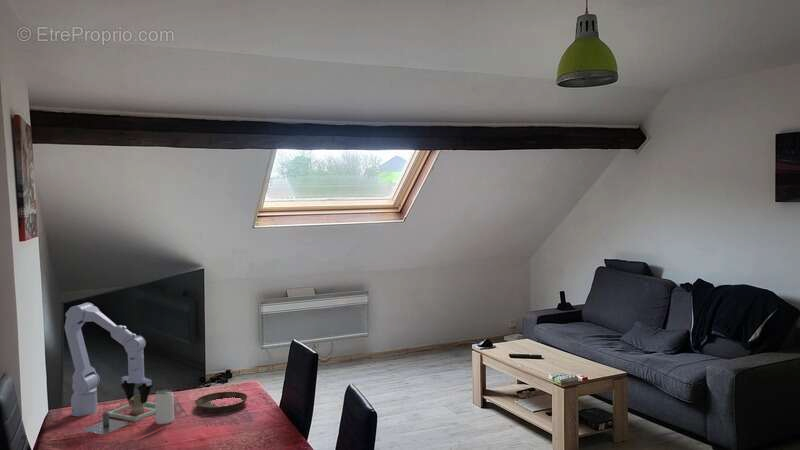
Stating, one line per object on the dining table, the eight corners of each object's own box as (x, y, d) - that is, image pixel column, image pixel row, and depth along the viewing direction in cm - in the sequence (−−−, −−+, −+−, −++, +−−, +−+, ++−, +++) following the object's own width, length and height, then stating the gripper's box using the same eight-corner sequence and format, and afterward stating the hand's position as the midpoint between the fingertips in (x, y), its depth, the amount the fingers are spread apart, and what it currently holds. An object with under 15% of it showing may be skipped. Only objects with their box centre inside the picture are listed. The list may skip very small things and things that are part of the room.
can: (167, 426, 222) (166, 394, 222) (152, 425, 224) (151, 393, 223) (177, 420, 229) (176, 389, 228) (162, 419, 230) (161, 388, 230)
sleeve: (126, 414, 234) (125, 399, 234) (138, 409, 240) (137, 395, 239) (134, 416, 233) (133, 400, 232) (146, 411, 238) (145, 396, 238)
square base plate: (80, 431, 219) (80, 415, 218) (109, 420, 229) (108, 404, 229) (103, 436, 213) (102, 419, 213) (131, 425, 224) (130, 409, 224)
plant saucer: (208, 397, 256) (208, 390, 255) (255, 398, 253) (254, 391, 253) (185, 414, 235) (185, 406, 235) (235, 416, 233) (235, 407, 232)
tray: (106, 417, 233) (106, 412, 233) (140, 404, 247) (139, 400, 247) (135, 423, 226) (135, 418, 226) (168, 409, 241) (168, 405, 240)
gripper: (114, 368, 236) (115, 402, 236) (140, 372, 229) (142, 407, 230) (129, 363, 242) (130, 396, 242) (155, 367, 236) (156, 401, 236)
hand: (137, 401), depth 237 cm, fingers open, 7 cm apart
